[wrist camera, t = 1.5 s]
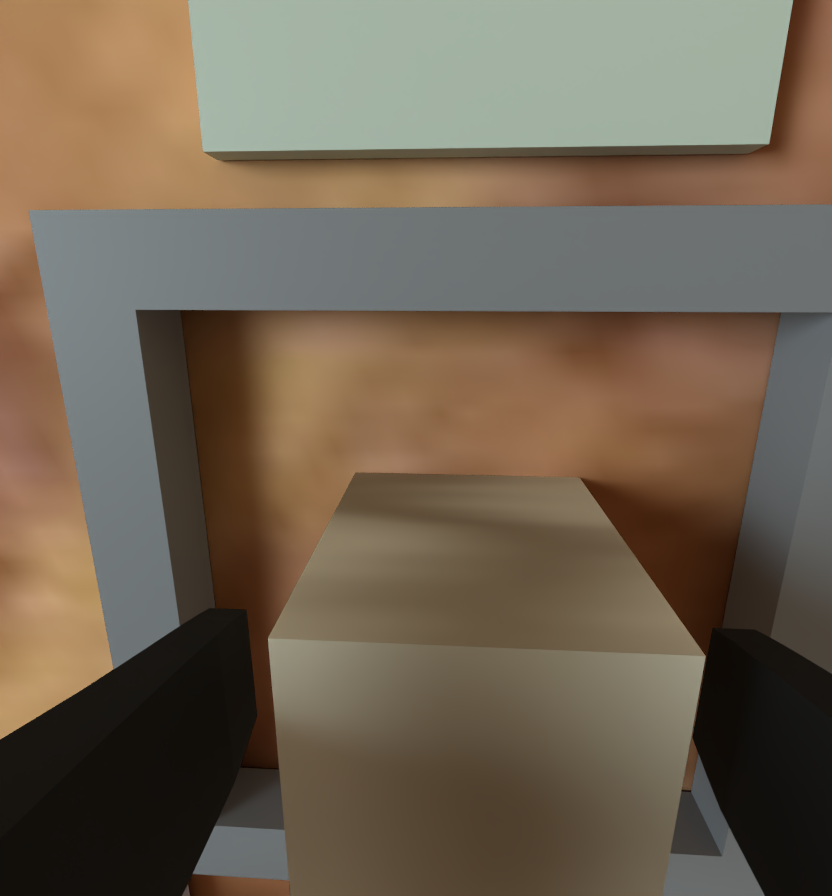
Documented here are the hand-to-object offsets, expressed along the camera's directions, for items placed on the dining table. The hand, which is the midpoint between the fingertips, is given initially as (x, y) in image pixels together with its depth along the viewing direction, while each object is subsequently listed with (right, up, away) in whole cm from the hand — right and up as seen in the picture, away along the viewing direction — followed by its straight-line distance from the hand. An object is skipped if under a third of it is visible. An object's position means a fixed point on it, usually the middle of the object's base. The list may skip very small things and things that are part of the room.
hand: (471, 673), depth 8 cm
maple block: (0, +1, +3) cm, 3 cm away
